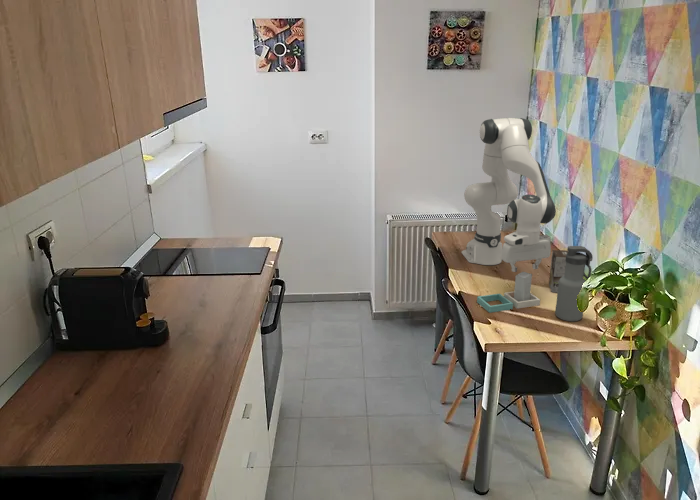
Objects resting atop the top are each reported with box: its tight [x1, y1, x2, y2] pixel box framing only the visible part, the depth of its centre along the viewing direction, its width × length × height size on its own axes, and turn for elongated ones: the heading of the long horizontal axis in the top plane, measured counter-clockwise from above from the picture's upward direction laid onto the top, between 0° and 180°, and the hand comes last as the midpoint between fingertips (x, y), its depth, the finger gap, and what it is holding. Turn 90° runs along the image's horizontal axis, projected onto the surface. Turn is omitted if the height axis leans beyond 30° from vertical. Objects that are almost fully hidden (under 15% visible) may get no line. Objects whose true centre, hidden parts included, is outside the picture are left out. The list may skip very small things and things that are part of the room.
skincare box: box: [514, 271, 533, 302], centre depth 217 cm, size 6×4×12 cm
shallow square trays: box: [476, 291, 541, 313], centre depth 218 cm, size 10×22×2 cm, turn 105°
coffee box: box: [548, 249, 568, 293], centre depth 228 cm, size 9×6×16 cm
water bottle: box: [554, 245, 593, 322], centre depth 202 cm, size 10×10×28 cm
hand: (524, 270), depth 214 cm, fingers open, 8 cm apart
